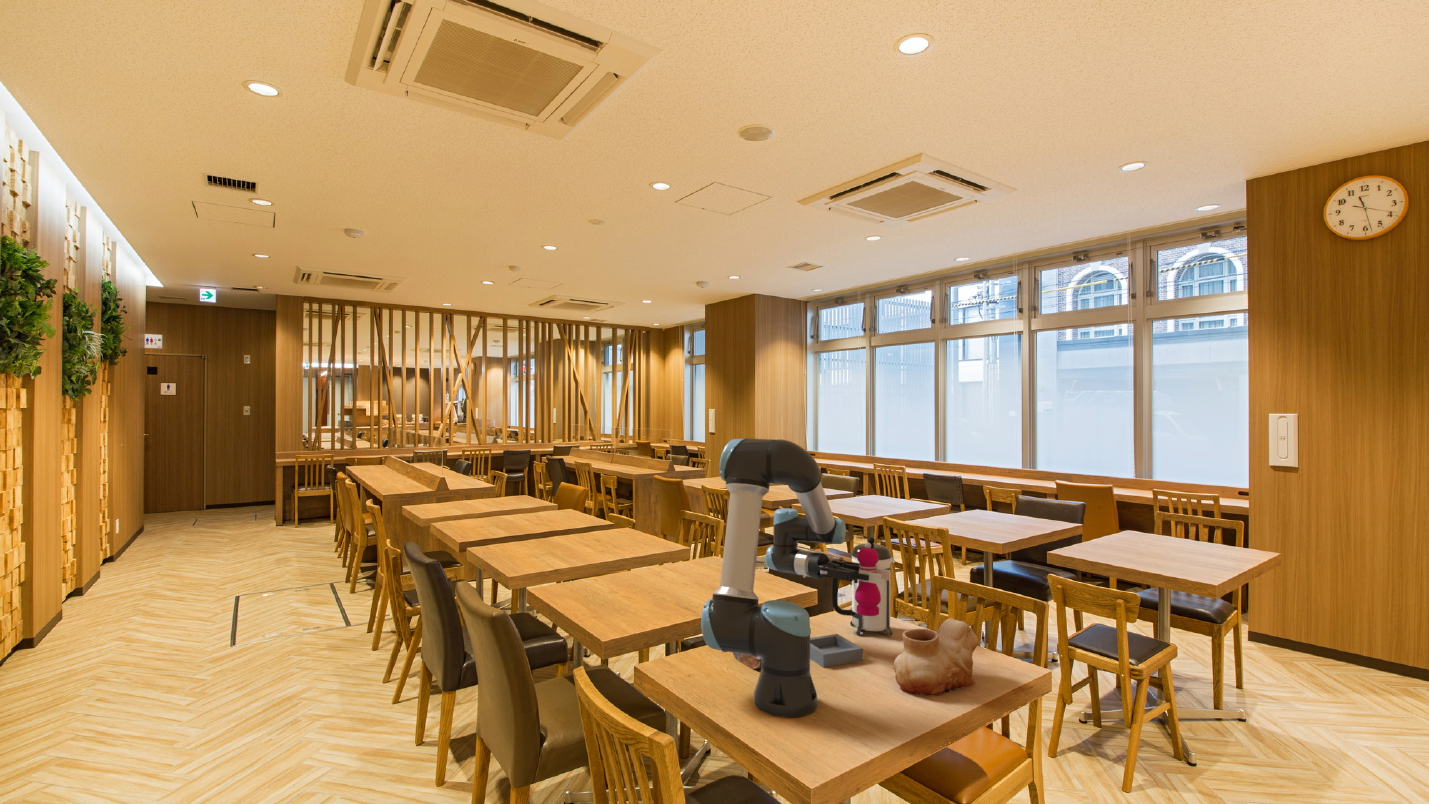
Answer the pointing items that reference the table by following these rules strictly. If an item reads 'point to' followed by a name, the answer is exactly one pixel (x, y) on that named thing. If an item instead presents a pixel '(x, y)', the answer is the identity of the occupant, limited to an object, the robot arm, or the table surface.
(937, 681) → the ceramic vessel
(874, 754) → the table surface
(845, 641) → the charcoal tray
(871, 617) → the coffee press
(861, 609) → the pepper mill
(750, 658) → the tin
